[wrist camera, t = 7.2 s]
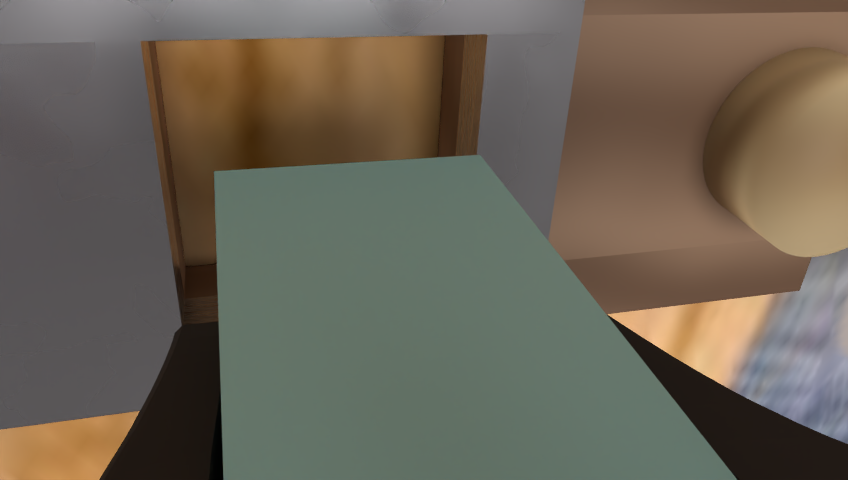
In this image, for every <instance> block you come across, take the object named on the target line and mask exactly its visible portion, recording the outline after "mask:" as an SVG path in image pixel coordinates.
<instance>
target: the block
mask: <svg viewBox="0 0 848 480" xmlns="http://www.w3.org/2000/svg"><path fill="white" fill-rule="evenodd" d="M214 190H215V222H216V254H217V286H218V318H219V350H220V382H221V414H222V446H223V478H224V480H737V479H736V478H735V476H734V475H733V474H732V472H731V471H730V470H729V469H728V467H727V466H726V465H725V464H724V462H723V461H722V460H721V459H720V457H719V456H718V455H717V454H716V452H715V451H714V450H713V448H712V447H711V446H710V445H709V443H708V442H707V441H706V440H705V438H704V437H703V436H702V435H701V433H700V432H699V431H698V430H697V428H696V427H695V426H694V424H693V423H692V422H691V421H690V419H689V418H688V417H687V416H686V414H685V413H684V412H683V411H682V409H681V408H680V407H679V406H678V404H677V403H676V402H675V400H674V399H673V398H672V397H671V395H670V394H669V393H668V392H667V390H666V389H665V388H664V387H663V385H662V384H661V383H660V381H659V380H658V379H657V378H656V376H655V375H654V374H653V373H652V371H651V370H650V369H649V368H648V366H647V365H646V364H645V363H644V361H643V360H642V359H641V357H640V356H639V355H638V354H637V352H636V351H635V350H634V349H633V347H632V346H631V345H630V344H629V342H628V341H627V340H626V339H625V337H624V336H623V335H622V333H621V332H620V331H619V330H618V328H617V327H616V326H615V325H614V323H613V322H612V321H611V320H610V318H609V317H608V316H607V314H606V313H605V312H604V311H603V309H602V308H601V307H600V306H599V304H598V303H597V302H596V301H595V299H594V298H593V297H592V296H591V294H590V293H589V292H588V290H587V289H586V288H585V287H584V285H583V284H582V283H581V282H580V280H579V279H578V278H577V277H576V275H575V274H574V273H573V272H572V270H571V269H570V268H569V266H568V265H567V264H566V263H565V261H564V260H563V259H562V258H561V256H560V255H559V254H558V253H557V251H556V250H555V249H554V248H553V246H552V245H551V244H550V242H549V241H548V240H547V239H546V237H545V236H544V235H543V234H542V232H541V231H540V230H539V229H538V227H537V226H536V225H535V223H534V222H533V221H532V220H531V218H530V217H529V216H528V215H527V213H526V212H525V211H524V210H523V208H522V207H521V206H520V205H519V203H518V202H517V201H516V199H515V198H514V197H513V196H512V194H511V193H510V192H509V191H508V189H507V188H506V187H505V186H504V184H503V183H502V182H501V181H500V179H499V178H498V177H497V175H496V174H495V173H494V172H493V170H492V169H491V168H490V167H489V165H488V164H487V163H486V162H485V160H484V159H483V158H482V157H481V155H469V156H452V157H436V158H420V159H404V160H388V161H371V162H355V163H339V164H323V165H307V166H290V167H274V168H258V169H242V170H226V171H214Z"/></svg>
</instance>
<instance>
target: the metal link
mask: <svg viewBox="0 0 848 480" xmlns="http://www.w3.org/2000/svg"><path fill="white" fill-rule="evenodd" d="M584 5H585V0H0V429H8V428H15V427H23V426H30V425H38V424H45V423H52V422H60V421H67V420H75V419H82V418H89V417H97V416H104V415H112V414H119V413H127V412H134V411H140V410H141V408H142V406H143V405H144V403H145V401H146V399H147V397H148V395H149V393H150V391H151V389H152V387H153V385H154V383H155V381H156V379H157V377H158V375H159V372H160V370H161V368H162V366H163V364H164V361H165V359H166V356H167V354H168V351H169V349H170V346H171V343H172V340H173V337H174V334H175V332H176V331H177V330H178V329H179V328H180V327H181V326H182V325H189V324H198V323H207V322H216V321H219V318H218V295H217V296H207V297H197V298H187V299H184V292H183V285H182V278H181V271H180V264H179V257H178V249H177V242H176V235H175V228H174V221H173V214H172V207H171V200H170V192H169V185H168V178H167V171H166V164H165V157H164V150H163V143H162V136H161V128H160V121H159V114H158V107H157V100H156V93H155V86H154V79H153V71H152V64H151V57H150V50H149V43H148V41H171V40H222V39H273V38H324V37H375V36H426V35H465V37H464V51H463V64H462V77H461V91H460V104H459V117H458V131H457V144H456V156H469V155H481V157H482V158H483V159H484V160H485V162H486V163H487V164H488V165H489V167H490V168H491V169H492V170H493V172H494V173H495V174H496V175H497V177H498V178H499V179H500V181H501V182H502V183H503V184H504V186H505V187H506V188H507V189H508V191H509V192H510V193H511V194H512V196H513V197H514V198H515V199H516V201H517V202H518V203H519V205H520V206H521V207H522V208H523V210H524V211H525V212H526V213H527V215H528V216H529V217H530V218H531V220H532V221H533V222H534V223H535V225H536V226H537V227H538V229H539V230H540V231H541V232H542V234H543V235H544V236H545V237H546V239H547V240H549V233H550V227H551V220H552V214H553V207H554V201H555V194H556V188H557V181H558V175H559V168H560V162H561V155H562V149H563V142H564V136H565V129H566V123H567V116H568V110H569V103H570V97H571V90H572V84H573V77H574V71H575V64H576V57H577V51H578V44H579V38H580V31H581V25H582V18H583V12H584Z"/></svg>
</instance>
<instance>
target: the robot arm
mask: <svg viewBox="0 0 848 480" xmlns="http://www.w3.org/2000/svg"><path fill="white" fill-rule="evenodd" d="M607 316H608V315H607ZM608 317H609V318H610V320H611V321H612V322H613V323H614V325H615V326H616V327H617V328H618V330H619V331H620V332H621V333H622V335H623V336H624V337H625V339H626V340H627V341H628V342H629V344H630V345H631V346H632V347H633V349H634V350H635V351H636V352H637V354H638V355H639V356H640V357H641V359H642V360H643V361H644V363H645V364H646V365H647V366H648V368H649V369H650V370H651V371H652V373H653V374H654V375H655V376H656V378H657V379H658V380H659V381H660V383H661V384H662V385H663V387H664V388H665V389H666V390H667V392H668V393H669V394H670V395H671V397H672V398H673V399H674V400H675V402H676V403H677V404H678V406H679V407H680V408H681V409H682V411H683V412H684V413H685V414H686V416H687V417H688V418H689V419H690V421H691V422H692V423H693V424H694V426H695V427H696V428H697V430H698V431H699V432H700V433H701V435H702V436H703V437H704V438H705V440H706V441H707V442H708V443H709V445H710V446H711V447H712V448H713V450H714V451H715V452H716V454H717V455H718V456H719V457H720V459H721V460H722V461H723V462H724V464H725V465H726V466H727V467H728V469H729V470H730V471H731V472H732V474H733V475H734V476H735V478H736V479H737V480H848V444H846V443H843V442H841V441H838V440H836V439H833V438H831V437H828V436H826V435H824V434H821V433H819V432H817V431H814V430H812V429H810V428H808V427H805V426H803V425H801V424H799V423H796V422H794V421H792V420H790V419H788V418H786V417H784V416H782V415H780V414H778V413H776V412H774V411H772V410H769V409H767V408H765V407H763V406H761V405H759V404H757V403H755V402H753V401H751V400H749V399H747V398H745V397H743V396H741V395H739V394H737V393H736V392H734V391H732V390H730V389H728V388H726V387H725V386H723V385H721V384H719V383H717V382H716V381H714V380H712V379H710V378H709V377H707V376H705V375H703V374H702V373H700V372H698V371H696V370H694V369H693V368H691V367H689V366H688V365H686V364H684V363H683V362H681V361H679V360H678V359H676V358H674V357H673V356H671V355H669V354H668V353H666V352H665V351H663V350H661V349H660V348H658V347H657V346H655V345H653V344H652V343H650V342H649V341H647V340H645V339H644V338H642V337H641V336H639V335H638V334H636V333H635V332H633V331H631V330H630V329H628V328H627V327H625V326H624V325H622V324H621V323H619V322H618V321H616V320H615V319H613V318H612V317H610V316H608ZM99 480H224V478H223V446H222V414H221V382H220V350H219V321H216V322H207V323H198V324H189V325H182V326H181V327H180V328H179V329H178V330H177V331H176V332H175V334H174V337H173V340H172V343H171V346H170V349H169V351H168V354H167V356H166V359H165V361H164V364H163V366H162V368H161V370H160V372H159V375H158V377H157V379H156V381H155V383H154V385H153V387H152V389H151V391H150V393H149V395H148V397H147V399H146V401H145V403H144V405H143V406H142V408H141V410H140V412H139V414H138V416H137V418H136V420H135V421H134V423H133V425H132V427H131V429H130V431H129V432H128V434H127V436H126V437H125V439H124V441H123V442H122V444H121V446H120V447H119V449H118V450H117V452H116V454H115V455H114V457H113V458H112V460H111V462H110V463H109V465H108V466H107V468H106V470H105V471H104V473H103V475H102V476H101V478H100V479H99Z"/></svg>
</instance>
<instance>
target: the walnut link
mask: <svg viewBox="0 0 848 480" xmlns="http://www.w3.org/2000/svg"><path fill="white" fill-rule="evenodd" d="M464 37H465V35H445V48H444V65H443V81H442V97H441V113H440V129H439V145H438V157H452V156H456V144H457V131H458V117H459V104H460V91H461V77H462V64H463V51H464ZM148 43H149V50H150V57H151V64H152V71H153V79H154V86H155V93H156V100H157V107H158V114H159V121H160V128H161V136H162V143H163V150H164V157H165V164H166V171H167V178H168V185H169V192H170V200H171V207H172V214H173V221H174V228H175V235H176V242H177V249H178V257H179V264H180V271H181V278H182V285H183V292H184V299H187V298H197V297H207V296H217V295H218V286H217V264H214V265H203V266H192V267H185V259H184V252H183V245H182V237H181V230H180V223H179V215H178V208H177V201H176V193H175V186H174V179H173V171H172V164H171V156H170V149H169V142H168V134H167V127H166V120H165V112H164V105H163V98H162V90H161V83H160V76H159V68H158V61H157V53H156V46H155V41H148ZM548 241H549V242H550V244H551V245H552V246H553V248H554V249H555V250H556V251H557V253H558V254H559V255H560V256H561V258H562V259H563V260H564V261H565V263H566V264H567V265H568V266H569V268H570V269H571V270H572V272H573V273H574V274H575V275H576V277H577V278H578V279H579V280H580V282H581V283H582V284H583V285H584V287H585V288H586V289H587V290H588V292H589V293H590V294H591V296H592V297H593V298H594V299H595V301H596V302H597V303H598V304H599V306H600V307H601V308H602V309H603V311H604V312H605V313H606V314H611V313H620V312H628V311H636V310H644V309H652V308H660V307H669V306H677V305H685V304H693V303H701V302H709V301H717V300H726V299H734V298H742V297H750V296H758V295H766V294H775V293H783V292H791V291H799V290H800V288H801V285H802V282H803V279H804V277H805V274H806V271H807V268H808V266H809V263H810V260H811V257H817V256H823V255H827V254H831V253H834V252H837V251H840V250H842V249H845V248H847V247H848V0H585V5H584V12H583V18H582V25H581V31H580V38H579V44H578V51H577V57H576V64H575V71H574V77H573V84H572V90H571V97H570V103H569V110H568V116H567V123H566V129H565V136H564V142H563V149H562V155H561V162H560V168H559V175H558V181H557V188H556V194H555V201H554V207H553V214H552V220H551V227H550V233H549V240H548Z"/></svg>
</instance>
